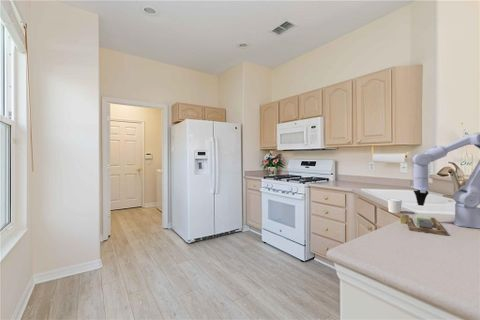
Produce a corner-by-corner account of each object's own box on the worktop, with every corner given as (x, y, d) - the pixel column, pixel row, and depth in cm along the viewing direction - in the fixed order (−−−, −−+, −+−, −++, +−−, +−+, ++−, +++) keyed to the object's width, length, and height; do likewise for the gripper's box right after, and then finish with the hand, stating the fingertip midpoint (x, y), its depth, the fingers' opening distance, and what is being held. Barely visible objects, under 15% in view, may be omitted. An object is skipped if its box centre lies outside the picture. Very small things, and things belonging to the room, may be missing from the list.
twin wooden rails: (434, 220, 112) (434, 218, 112) (445, 235, 92) (446, 231, 92) (404, 217, 118) (404, 214, 118) (409, 230, 99) (409, 226, 99)
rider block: (428, 224, 106) (428, 216, 106) (430, 227, 102) (430, 219, 102) (415, 223, 109) (415, 215, 109) (416, 226, 105) (416, 217, 105)
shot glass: (404, 213, 126) (404, 201, 126) (392, 213, 127) (392, 201, 126) (396, 210, 133) (396, 198, 133) (384, 210, 133) (384, 198, 133)
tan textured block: (405, 221, 111) (405, 213, 111) (405, 223, 108) (405, 215, 108) (400, 221, 112) (400, 213, 112) (400, 222, 109) (400, 214, 109)
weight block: (430, 229, 99) (430, 220, 99) (432, 232, 96) (432, 223, 96) (419, 228, 101) (419, 219, 101) (420, 230, 98) (420, 221, 98)
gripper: (409, 176, 120) (409, 201, 120) (412, 179, 108) (412, 207, 108) (426, 177, 116) (426, 203, 117) (431, 179, 104) (431, 208, 104)
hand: (420, 205), depth 112 cm, fingers closed
